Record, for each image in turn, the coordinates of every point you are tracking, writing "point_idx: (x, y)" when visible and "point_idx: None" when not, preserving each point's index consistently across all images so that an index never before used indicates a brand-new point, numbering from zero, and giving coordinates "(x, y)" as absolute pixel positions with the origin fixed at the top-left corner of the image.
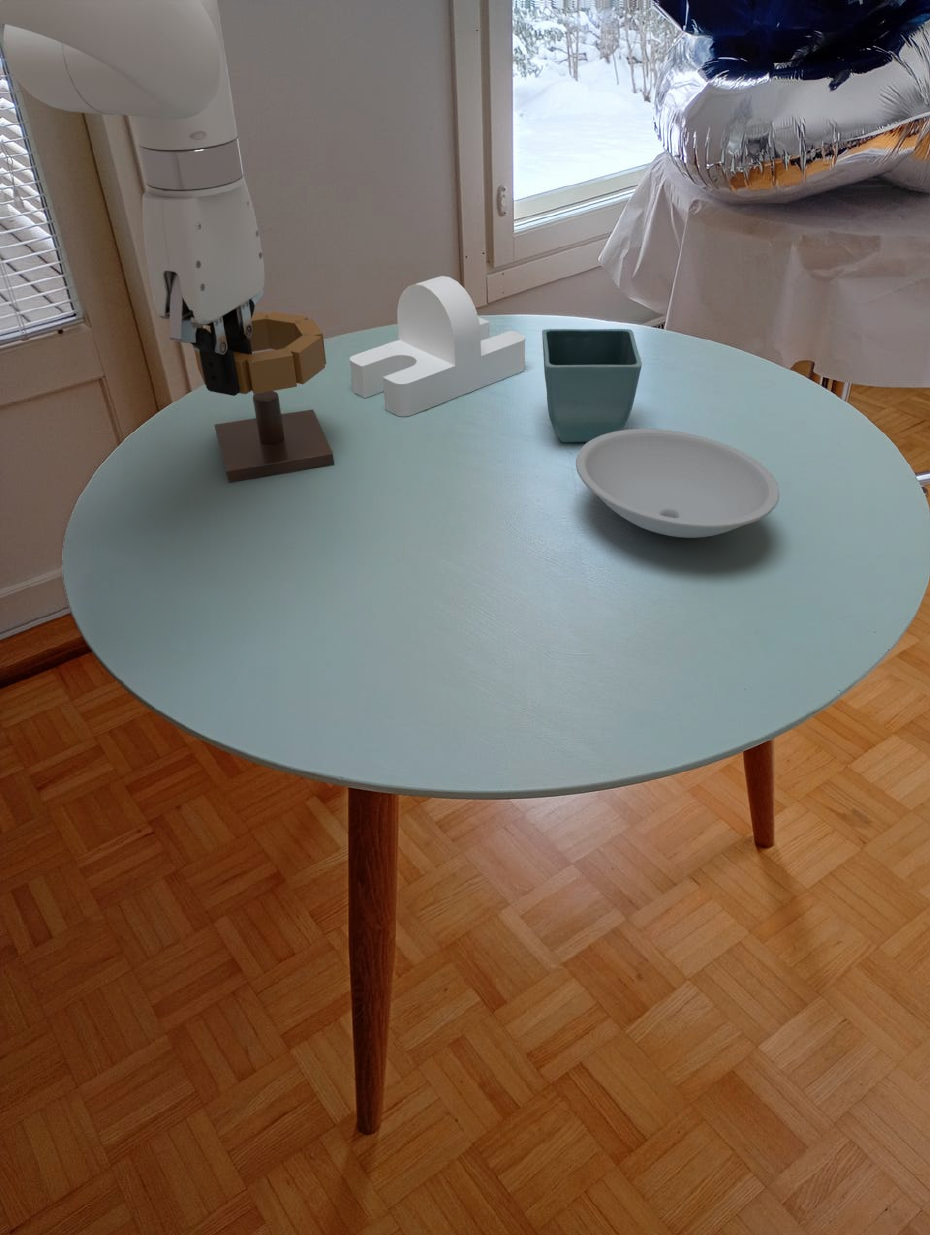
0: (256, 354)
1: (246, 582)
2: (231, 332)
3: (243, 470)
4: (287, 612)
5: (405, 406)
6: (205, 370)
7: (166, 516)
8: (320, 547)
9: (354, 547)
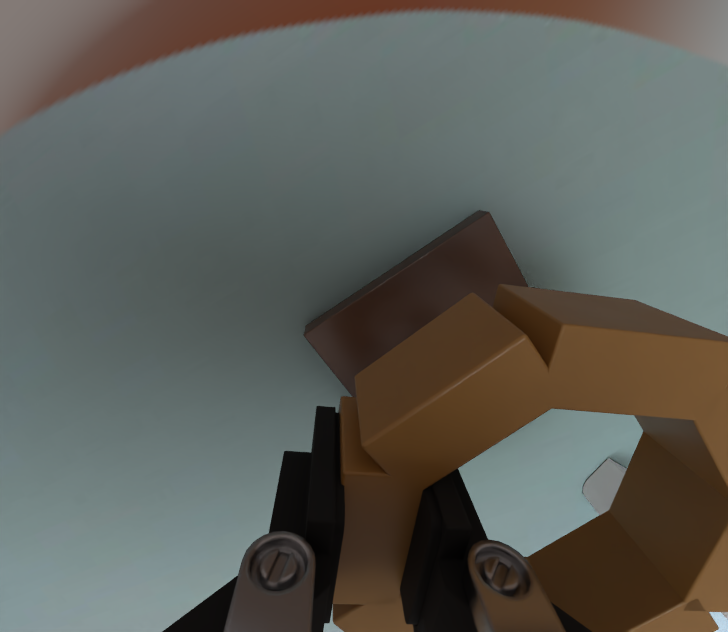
0: (401, 616)
1: (54, 479)
2: (439, 624)
3: (321, 357)
4: (26, 548)
5: (595, 507)
6: (278, 486)
7: (155, 274)
8: (181, 525)
9: (200, 559)
